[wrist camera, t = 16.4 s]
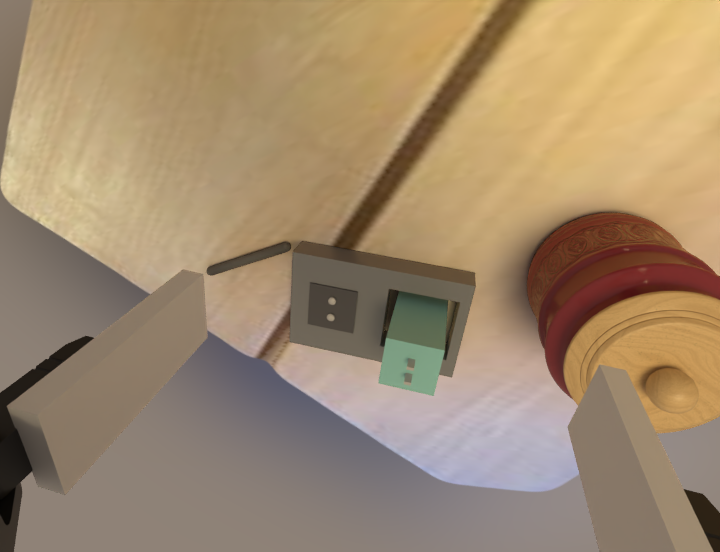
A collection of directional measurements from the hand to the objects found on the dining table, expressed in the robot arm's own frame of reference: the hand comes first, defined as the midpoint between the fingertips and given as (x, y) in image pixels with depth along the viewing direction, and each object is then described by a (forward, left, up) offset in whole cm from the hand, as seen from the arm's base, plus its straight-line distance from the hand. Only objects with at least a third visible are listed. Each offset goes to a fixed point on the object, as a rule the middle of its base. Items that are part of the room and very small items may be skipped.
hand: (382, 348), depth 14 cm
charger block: (+9, -12, -29) cm, 32 cm away
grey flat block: (+5, -14, -29) cm, 32 cm away
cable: (-9, -20, -29) cm, 36 cm away
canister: (+18, +3, -29) cm, 34 cm away
